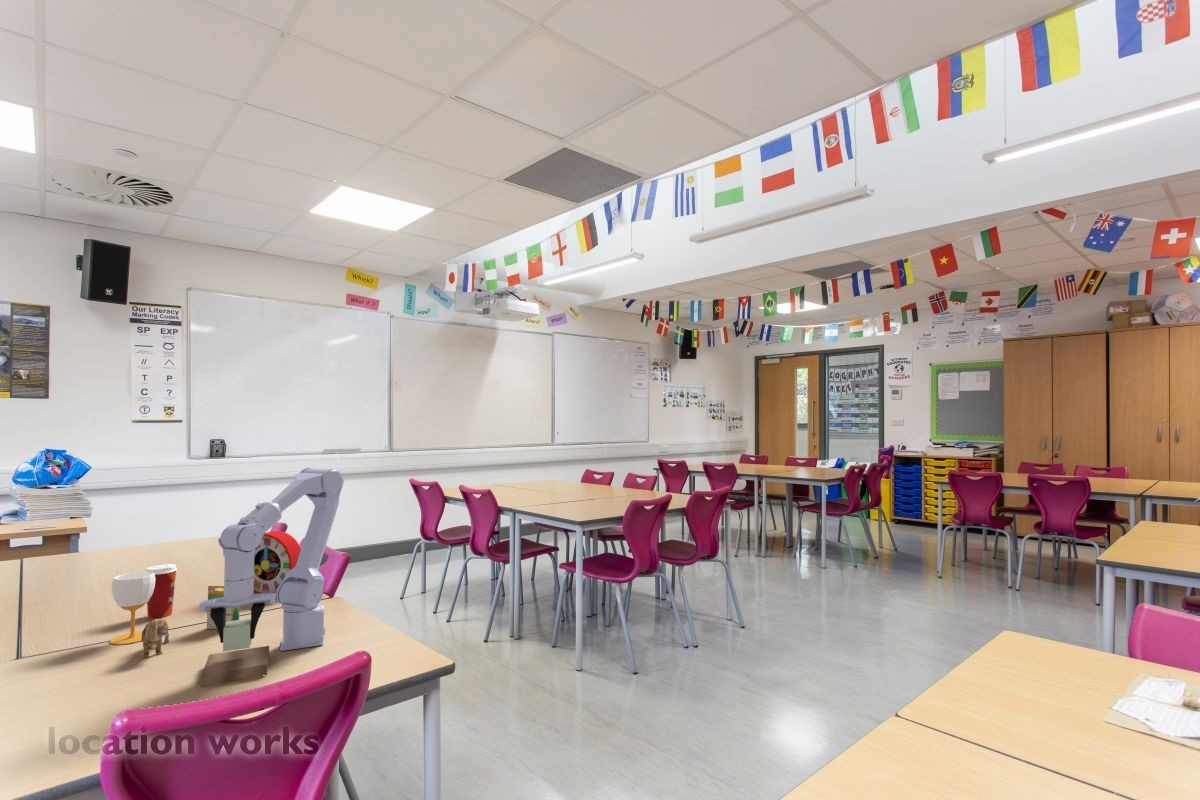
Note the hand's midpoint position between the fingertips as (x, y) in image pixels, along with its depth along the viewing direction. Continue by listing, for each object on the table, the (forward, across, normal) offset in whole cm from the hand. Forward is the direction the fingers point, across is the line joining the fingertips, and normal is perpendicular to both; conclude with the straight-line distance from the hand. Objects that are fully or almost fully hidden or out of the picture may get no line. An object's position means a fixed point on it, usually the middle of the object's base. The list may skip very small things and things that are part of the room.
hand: (237, 639), depth 132 cm
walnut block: (+7, 0, 0) cm, 7 cm away
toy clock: (+7, +2, +64) cm, 64 cm away
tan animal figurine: (+7, -19, +22) cm, 30 cm away
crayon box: (+7, -7, +34) cm, 35 cm away
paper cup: (+7, -25, +54) cm, 60 cm away
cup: (+7, -27, +35) cm, 45 cm away
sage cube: (+1, 0, 0) cm, 1 cm away
